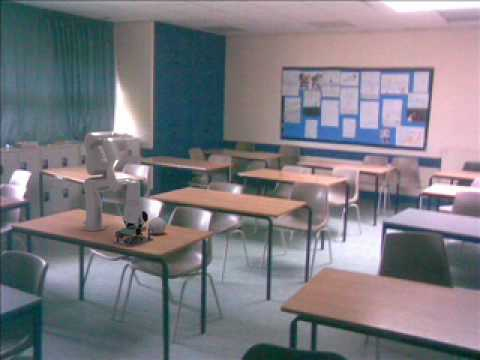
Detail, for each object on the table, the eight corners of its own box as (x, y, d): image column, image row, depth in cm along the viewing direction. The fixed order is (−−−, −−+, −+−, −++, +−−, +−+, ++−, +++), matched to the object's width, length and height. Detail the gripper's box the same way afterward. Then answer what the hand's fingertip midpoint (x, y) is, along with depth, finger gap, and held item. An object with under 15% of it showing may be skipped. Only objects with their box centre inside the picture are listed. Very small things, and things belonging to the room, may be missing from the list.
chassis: (130, 247, 290) (130, 234, 289) (113, 243, 297) (113, 230, 296) (153, 240, 305) (153, 228, 304) (136, 236, 312) (136, 224, 311)
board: (130, 235, 293) (130, 228, 293) (121, 233, 297) (121, 226, 297) (145, 230, 303) (145, 224, 303) (136, 229, 307) (136, 222, 307)
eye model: (169, 233, 321) (169, 216, 320) (159, 236, 312) (159, 220, 311) (155, 230, 326) (155, 214, 324) (145, 234, 317) (145, 217, 315)
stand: (120, 238, 308) (120, 233, 307) (115, 237, 310) (115, 232, 309) (133, 234, 316) (133, 229, 316) (128, 233, 318) (128, 228, 318)
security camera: (121, 232, 320) (121, 216, 319) (139, 226, 337) (139, 210, 335) (131, 234, 318) (131, 217, 316) (148, 227, 334) (148, 211, 333)
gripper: (117, 201, 299) (117, 232, 302) (140, 205, 290) (140, 237, 293) (126, 199, 305) (126, 230, 308) (149, 203, 296) (149, 234, 299)
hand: (133, 233), depth 300 cm, fingers closed on board, 6 cm apart
